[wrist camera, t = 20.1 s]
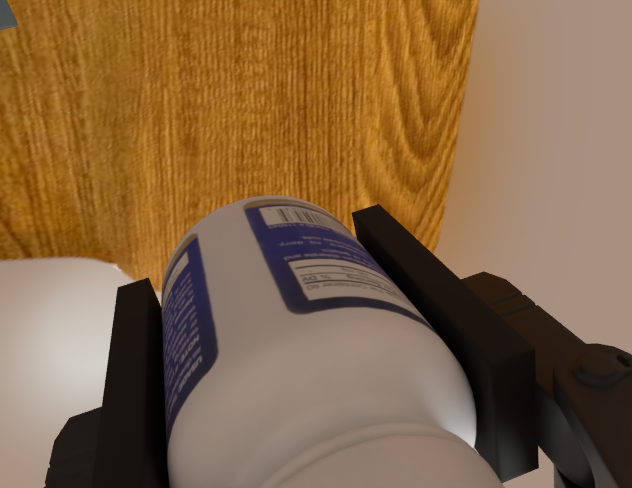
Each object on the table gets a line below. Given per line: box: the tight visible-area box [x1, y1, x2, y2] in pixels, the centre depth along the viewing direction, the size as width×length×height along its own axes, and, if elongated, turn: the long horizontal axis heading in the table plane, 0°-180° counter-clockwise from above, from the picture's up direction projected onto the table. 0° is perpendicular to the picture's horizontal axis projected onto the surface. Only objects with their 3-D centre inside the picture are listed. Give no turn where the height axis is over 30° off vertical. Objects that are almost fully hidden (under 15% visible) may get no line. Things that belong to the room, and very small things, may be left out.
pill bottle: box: [161, 195, 504, 488], centre depth 10 cm, size 5×5×9 cm
